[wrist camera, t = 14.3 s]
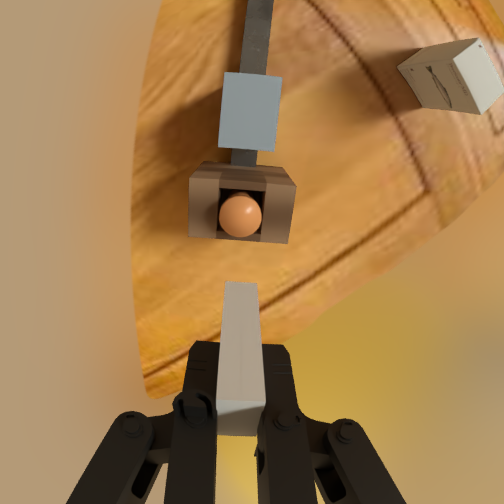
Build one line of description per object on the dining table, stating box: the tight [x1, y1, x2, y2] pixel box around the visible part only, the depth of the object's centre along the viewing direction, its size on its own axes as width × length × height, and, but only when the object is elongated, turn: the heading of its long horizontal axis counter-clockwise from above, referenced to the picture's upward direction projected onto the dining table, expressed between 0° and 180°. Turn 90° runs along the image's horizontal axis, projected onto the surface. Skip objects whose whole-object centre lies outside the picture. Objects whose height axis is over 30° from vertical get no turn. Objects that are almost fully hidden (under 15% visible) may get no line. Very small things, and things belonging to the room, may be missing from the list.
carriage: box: [218, 72, 282, 152], centre depth 26 cm, size 7×5×10 cm
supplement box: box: [397, 38, 504, 115], centre depth 22 cm, size 7×7×13 cm
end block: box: [188, 161, 297, 244], centre depth 31 cm, size 6×10×10 cm, turn 84°
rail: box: [231, 0, 274, 167], centre depth 26 cm, size 30×5×4 cm, turn 174°
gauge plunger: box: [219, 189, 261, 237], centre depth 28 cm, size 4×4×6 cm
